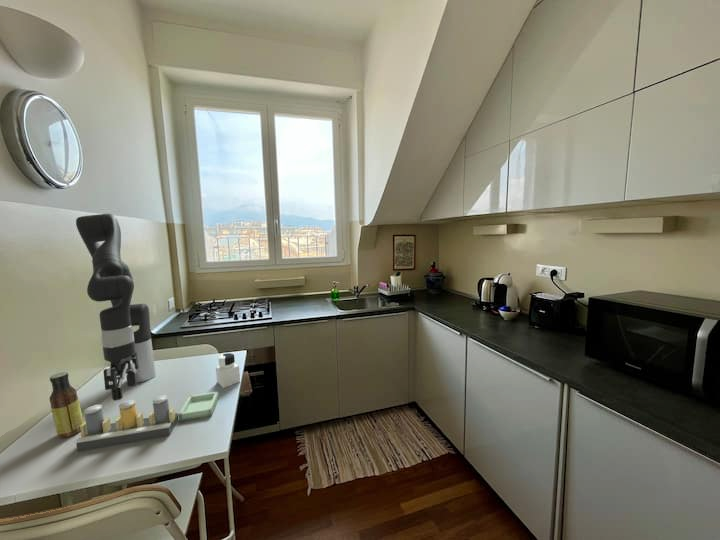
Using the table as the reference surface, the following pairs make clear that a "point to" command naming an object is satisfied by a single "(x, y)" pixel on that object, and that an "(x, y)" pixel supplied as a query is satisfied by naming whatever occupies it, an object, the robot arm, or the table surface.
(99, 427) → the dome-capped grey cylinder
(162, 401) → the cylinder
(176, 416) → the fuse block
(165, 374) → the table surface
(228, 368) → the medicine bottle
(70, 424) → the sauce bottle
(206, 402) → the tray
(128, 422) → the cylinder
